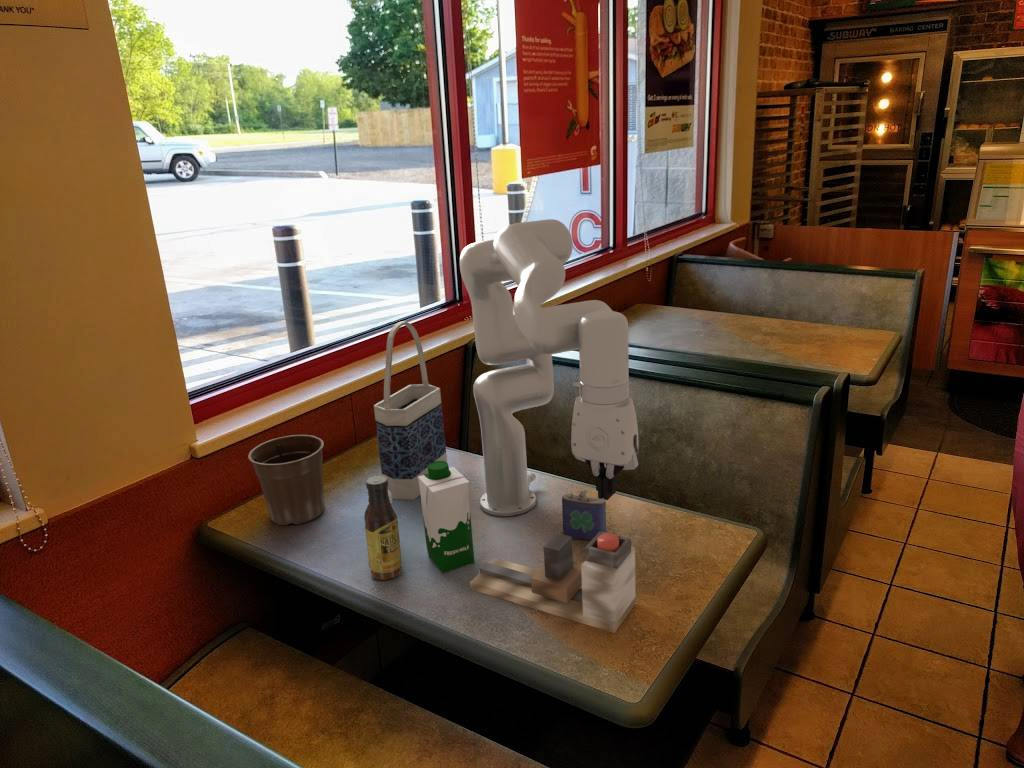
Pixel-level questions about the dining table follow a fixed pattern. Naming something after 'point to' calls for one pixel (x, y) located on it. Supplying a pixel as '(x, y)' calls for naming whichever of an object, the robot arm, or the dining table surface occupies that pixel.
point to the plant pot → (291, 477)
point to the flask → (583, 516)
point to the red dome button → (608, 542)
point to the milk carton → (446, 517)
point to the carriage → (558, 571)
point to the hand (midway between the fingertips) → (606, 495)
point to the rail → (593, 604)
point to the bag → (408, 427)
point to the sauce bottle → (382, 531)
